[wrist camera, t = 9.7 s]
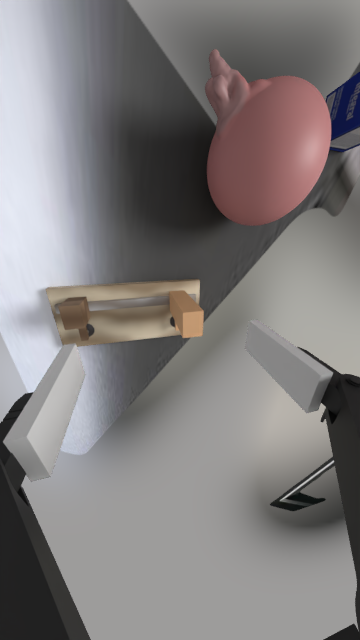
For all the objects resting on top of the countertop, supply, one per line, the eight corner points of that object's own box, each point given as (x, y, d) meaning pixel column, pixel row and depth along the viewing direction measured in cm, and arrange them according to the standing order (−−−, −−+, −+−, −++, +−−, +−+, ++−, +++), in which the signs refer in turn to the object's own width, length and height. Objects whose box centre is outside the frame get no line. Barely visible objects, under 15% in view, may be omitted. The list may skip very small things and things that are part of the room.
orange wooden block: (168, 290, 36) (182, 312, 26) (183, 289, 37) (203, 311, 26) (170, 327, 40) (183, 360, 29) (183, 325, 40) (201, 357, 30)
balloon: (229, 58, 27) (327, -126, 13) (287, 185, 36) (383, 152, 22) (155, 145, 29) (174, 63, 15) (227, 245, 38) (280, 249, 24)
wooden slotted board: (49, 287, 34) (28, 299, 27) (197, 278, 39) (209, 287, 33) (66, 344, 39) (52, 365, 32) (196, 329, 44) (206, 345, 38)
